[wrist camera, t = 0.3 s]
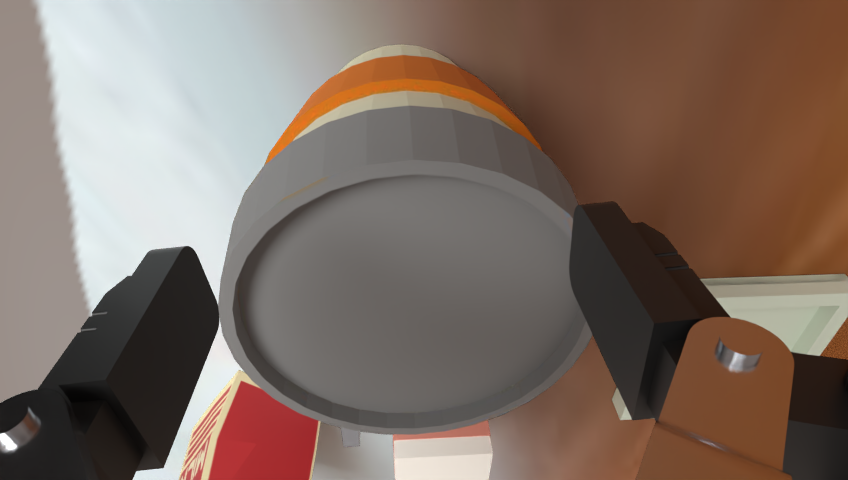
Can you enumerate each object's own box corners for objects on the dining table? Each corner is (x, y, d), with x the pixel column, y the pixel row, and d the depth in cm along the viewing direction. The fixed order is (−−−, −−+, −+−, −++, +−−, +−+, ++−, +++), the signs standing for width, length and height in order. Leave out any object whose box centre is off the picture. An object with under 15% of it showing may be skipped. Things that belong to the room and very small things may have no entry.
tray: (657, 280, 36) (669, 299, 35) (844, 273, 37) (865, 292, 36) (611, 399, 45) (620, 420, 43) (765, 392, 46) (778, 412, 44)
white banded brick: (391, 343, 38) (393, 458, 31) (473, 340, 38) (493, 453, 31) (393, 379, 40) (394, 492, 33) (469, 375, 41) (488, 487, 33)
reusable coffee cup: (547, 33, 26) (688, 188, 14) (480, 232, 33) (535, 447, 21) (292, -20, 24) (195, 109, 12) (281, 205, 31) (215, 428, 19)
